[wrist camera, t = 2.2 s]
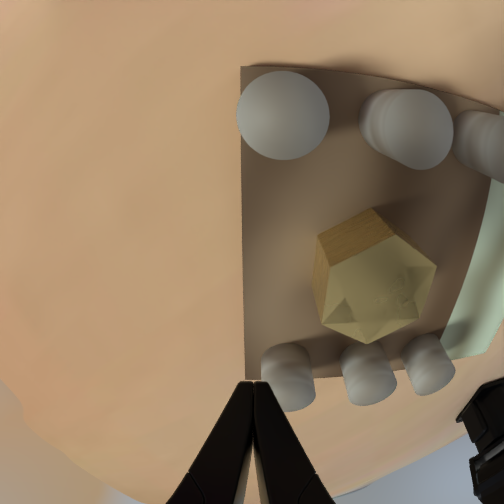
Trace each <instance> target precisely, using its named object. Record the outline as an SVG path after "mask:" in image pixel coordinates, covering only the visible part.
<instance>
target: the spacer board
mask: <svg viewBox="0 0 504 504" xmlns="http://www.w3.org/2000/svg"><path fill="white" fill-rule="evenodd" d="M236 117H237V124H238V128H239V131H240V133H241V187H242V252H243V303H244V346H245V380H261V381H266V382H268V383H269V385H270V387H271V388H272V390H273V392H274V394H275V396H276V398H277V400H278V402H279V404H280V406H281V408H282V410H283V412H292V411H297V410H300V409H303V408H305V407H307V406H308V405H310V404H311V403H312V402H313V401H314V399H315V396H316V394H315V387H314V381H313V378H327V377H341V376H343V377H344V381H345V385H346V389H347V393H348V398H349V401H350V402H351V403H352V404H354V405H358V406H366V405H372V404H375V403H378V402H380V401H382V400H384V399H385V398H387V397H388V396H390V395H391V394H392V393H393V391H394V390H395V389H396V386H397V381H396V378H395V375H394V373H393V371H397V370H404V369H406V371H407V374H408V376H409V378H410V381H411V383H412V386H413V388H414V390H415V393H416V394H417V395H421V396H424V395H429V394H432V393H435V392H437V391H438V390H440V389H442V388H443V387H444V386H446V385H447V384H448V383H449V382H450V381H451V379H452V378H453V376H454V374H455V367H454V365H453V364H452V362H451V360H455V359H460V358H465V357H469V356H474V355H478V354H482V353H485V352H486V350H487V349H488V347H489V345H490V343H491V341H492V339H493V338H494V336H495V334H496V332H497V330H498V328H499V326H500V324H501V322H502V320H503V318H504V112H502V111H500V110H497V109H495V108H492V107H489V106H487V105H484V104H481V103H478V102H475V101H472V100H469V99H466V98H463V97H460V96H457V95H453V94H450V93H446V92H443V91H439V90H435V89H432V88H428V87H424V86H420V85H415V84H411V83H407V82H402V81H397V80H392V79H387V78H381V77H376V76H370V75H363V74H356V73H349V72H341V71H332V70H322V69H311V68H296V67H270V66H241V96H240V99H239V102H238V105H237V112H236ZM369 208H372V209H373V210H375V211H376V212H378V213H379V214H380V215H382V216H383V217H384V218H386V219H387V220H389V221H390V222H391V223H393V224H394V225H395V226H397V227H398V228H399V229H401V230H402V231H403V232H405V233H406V234H407V235H409V236H410V237H411V238H412V239H413V240H414V241H415V242H416V244H417V245H418V246H419V247H420V248H421V249H422V250H423V251H424V252H425V253H426V254H427V256H428V257H429V258H430V259H431V260H432V261H433V262H434V263H435V264H436V266H437V268H436V271H435V274H434V278H433V281H432V284H431V287H430V290H429V293H428V296H427V299H426V302H425V305H424V307H423V310H422V313H421V315H420V318H419V319H417V320H415V321H413V322H411V323H409V324H408V325H406V326H404V327H402V328H400V329H398V330H396V331H394V332H392V333H390V334H388V335H386V336H384V337H381V338H379V339H377V340H375V341H373V342H371V343H369V344H365V343H363V342H360V341H358V340H356V339H353V338H351V337H349V336H347V335H344V334H342V333H340V332H337V331H335V330H333V329H331V328H328V327H326V326H324V325H322V324H321V321H320V317H319V313H318V309H317V305H316V301H315V297H314V294H313V290H312V278H313V269H314V260H315V250H316V241H317V235H318V234H320V233H322V232H324V231H326V230H328V229H330V228H332V227H334V226H336V225H338V224H339V223H341V222H343V221H345V220H347V219H349V218H351V217H353V216H355V215H357V214H359V213H361V212H363V211H365V210H367V209H369Z"/></svg>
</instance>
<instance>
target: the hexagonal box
mask: <svg viewBox="0 0 504 504" xmlns="http://www.w3.org/2000/svg"><path fill="white" fill-rule="evenodd" d="M436 268H437V266H436V264H435V263H434V262H433V261H432V260H431V259H430V258H429V257H428V256H427V254H426V253H425V252H424V251H423V250H422V249H421V248H420V247H419V246H418V245H417V244H416V242H415V241H414V240H413V239H412V238H411V237H410V236H409V235H407V234H406V233H405V232H403V231H402V230H401V229H399V228H398V227H397V226H395V225H394V224H393V223H391V222H390V221H389V220H387V219H386V218H384V217H383V216H382V215H380V214H379V213H378V212H376V211H375V210H373V209H372V208H369V209H367V210H365V211H363V212H361V213H359V214H357V215H355V216H353V217H351V218H349V219H347V220H345V221H343V222H341V223H339V224H338V225H336V226H334V227H332V228H330V229H328V230H326V231H324V232H322V233H320V234H318V235H317V241H316V250H315V260H314V269H313V278H312V290H313V294H314V297H315V301H316V305H317V309H318V313H319V317H320V321H321V324H322V325H324V326H326V327H328V328H331V329H333V330H335V331H337V332H340V333H342V334H344V335H347V336H349V337H351V338H353V339H356V340H358V341H360V342H363V343H365V344H369V343H371V342H373V341H375V340H377V339H379V338H381V337H384V336H386V335H388V334H390V333H392V332H394V331H396V330H398V329H400V328H402V327H404V326H406V325H408V324H409V323H411V322H413V321H415V320H417V319H419V318H420V315H421V313H422V310H423V307H424V305H425V302H426V299H427V296H428V293H429V290H430V287H431V284H432V281H433V278H434V274H435V271H436Z"/></svg>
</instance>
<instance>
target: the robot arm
mask: <svg viewBox="0 0 504 504" xmlns="http://www.w3.org/2000/svg"><path fill="white" fill-rule="evenodd" d="M253 387H254V395H253ZM462 421H463V422H464V425H465V427H466V429H467V432H468V434H469V437H470V439H471V441H472V443H475V445H476V447H477V450H478V452H479V454H478V455H476V456H475V457H472V458H470V459H469V464H470V471H471V476H472V482H473V487H474V488H473V490H474V495H475V496H477V497H478V499H479V500H480V501H481V502H482V503H483V504H504V379H502V380H499V381H496V382H493V383H490V384H487V385H484V386H482V387H480V388H479V389H478V391H477V392H476V394H475V395H474V396H473V398H472V399H471V400H470V402H469V403H468V404H467V406H466V407H465V408H464V410H463V411H462V412H461V413H460V415H459V416H458V417H457V418H456V422H457V423H459V422H462ZM252 447H253V449H254V458H255V465H256V473H257V480H258V487H259V495H260V502H261V504H336V503H335V502H334V500H333V499H332V498H331V496H330V495H329V493H328V491H327V490H326V488H325V487H324V485H323V483H322V482H321V480H320V478H319V476H318V474H315V473H316V471H315V469H314V468H313V466H312V464H311V462H310V460H309V458H308V457H307V455H306V453H305V451H304V449H303V447H302V446H301V444H300V442H299V440H298V438H297V436H296V434H295V433H294V431H293V429H292V427H291V425H290V423H289V421H288V419H287V417H286V416H285V414H284V412H283V410H282V408H281V406H280V404H279V402H278V400H277V398H276V396H275V394H274V392H273V390H272V388H271V387H270V385H269V383H268V382H266V381H256V382H254V384H253V382H251V381H240V382H239V383H238V385H237V386H236V388H235V390H234V392H233V394H232V395H231V397H230V399H229V401H228V403H227V404H226V406H225V408H224V410H223V412H222V413H221V415H220V417H219V419H218V421H217V422H216V424H215V426H214V428H213V429H212V431H211V433H210V434H209V436H208V438H207V440H206V441H205V443H204V445H203V447H202V448H201V450H200V452H199V453H198V455H197V457H196V458H195V460H194V462H193V463H192V465H191V467H190V468H189V470H188V472H189V473H188V472H187V473H186V475H185V476H184V478H183V480H182V481H181V483H180V484H179V486H178V487H177V489H176V490H175V492H174V493H173V495H172V496H171V497H170V499H169V500H168V501H167V502H166V504H243V503H244V497H245V491H246V485H247V479H248V473H249V467H250V461H251V455H252Z"/></svg>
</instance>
